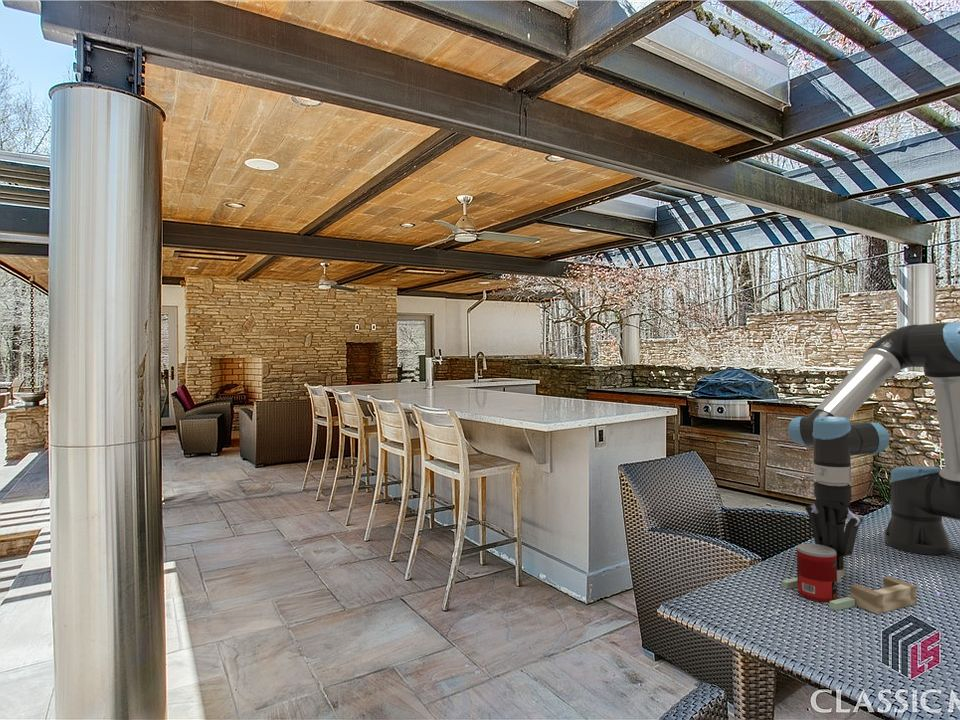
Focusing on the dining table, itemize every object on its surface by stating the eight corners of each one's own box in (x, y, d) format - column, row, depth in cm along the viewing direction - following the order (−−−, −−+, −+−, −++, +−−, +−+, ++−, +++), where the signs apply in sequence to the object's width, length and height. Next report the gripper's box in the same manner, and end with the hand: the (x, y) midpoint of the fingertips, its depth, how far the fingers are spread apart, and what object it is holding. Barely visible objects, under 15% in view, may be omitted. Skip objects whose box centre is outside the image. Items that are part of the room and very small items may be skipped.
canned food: (842, 604, 127) (841, 555, 127) (802, 600, 129) (801, 552, 129) (831, 590, 134) (830, 544, 134) (793, 587, 136) (793, 542, 136)
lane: (837, 573, 144) (836, 558, 144) (916, 603, 126) (916, 586, 126) (799, 581, 139) (799, 565, 139) (876, 614, 122) (876, 595, 122)
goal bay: (799, 582, 139) (799, 576, 139) (855, 606, 126) (854, 599, 126) (781, 586, 137) (781, 580, 137) (835, 610, 124) (835, 603, 124)
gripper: (796, 478, 138) (798, 574, 138) (847, 489, 126) (849, 595, 126) (818, 475, 140) (820, 569, 141) (870, 486, 128) (872, 589, 128)
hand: (834, 581), depth 133 cm, fingers closed
